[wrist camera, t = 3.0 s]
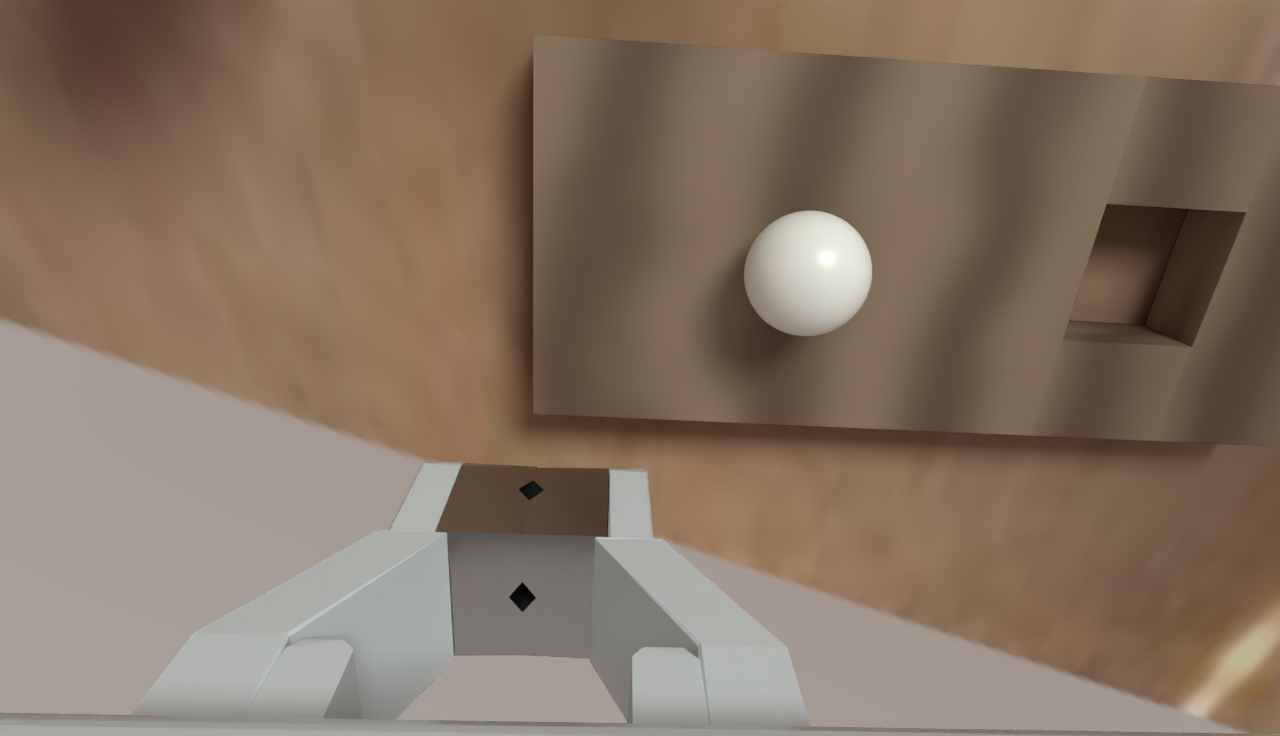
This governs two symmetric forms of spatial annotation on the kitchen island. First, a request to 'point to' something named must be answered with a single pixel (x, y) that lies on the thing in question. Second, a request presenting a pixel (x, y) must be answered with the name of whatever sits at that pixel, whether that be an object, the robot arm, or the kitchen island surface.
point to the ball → (808, 273)
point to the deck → (899, 242)
